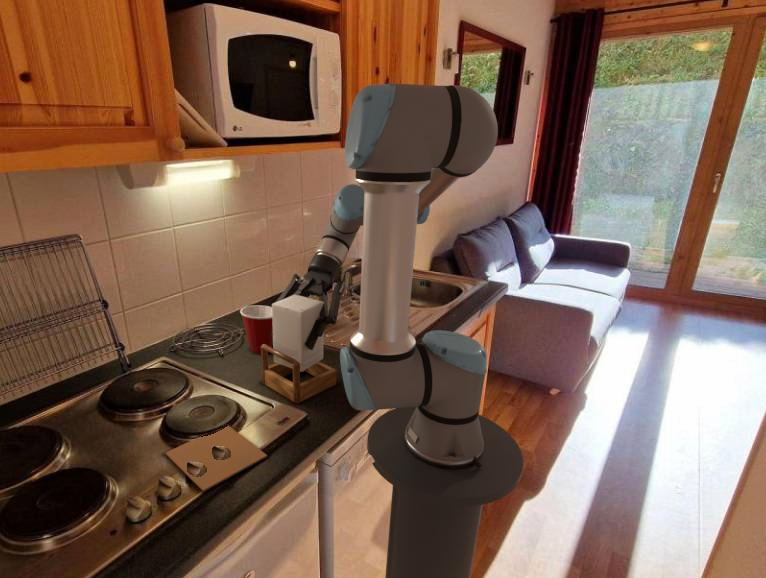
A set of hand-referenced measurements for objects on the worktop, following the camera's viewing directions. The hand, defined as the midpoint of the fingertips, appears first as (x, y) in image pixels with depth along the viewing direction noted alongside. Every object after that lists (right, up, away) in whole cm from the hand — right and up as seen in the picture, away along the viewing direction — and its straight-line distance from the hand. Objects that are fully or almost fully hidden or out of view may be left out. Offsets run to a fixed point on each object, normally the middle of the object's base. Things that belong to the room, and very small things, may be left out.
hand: (291, 342), depth 111 cm
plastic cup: (-10, -3, +25) cm, 27 cm away
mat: (-13, -21, -19) cm, 31 cm away
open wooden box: (+2, -10, +7) cm, 13 cm away
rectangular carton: (+2, -5, +5) cm, 7 cm away
